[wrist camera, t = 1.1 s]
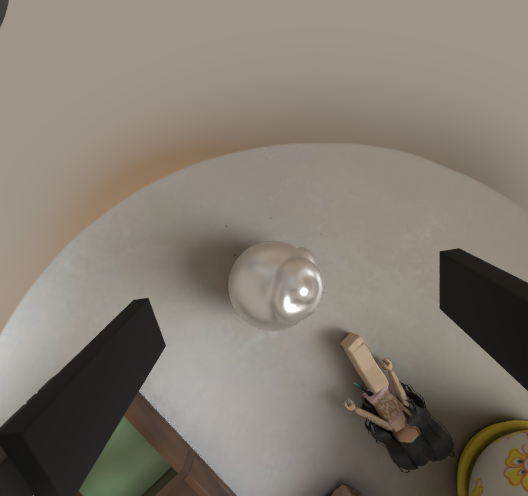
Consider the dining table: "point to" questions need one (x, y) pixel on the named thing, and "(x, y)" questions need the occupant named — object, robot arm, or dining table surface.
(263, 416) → the dining table surface
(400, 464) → the toy figure
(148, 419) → the tray
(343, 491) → the stone
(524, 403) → the dining table surface
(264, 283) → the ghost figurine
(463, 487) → the flowerpot
